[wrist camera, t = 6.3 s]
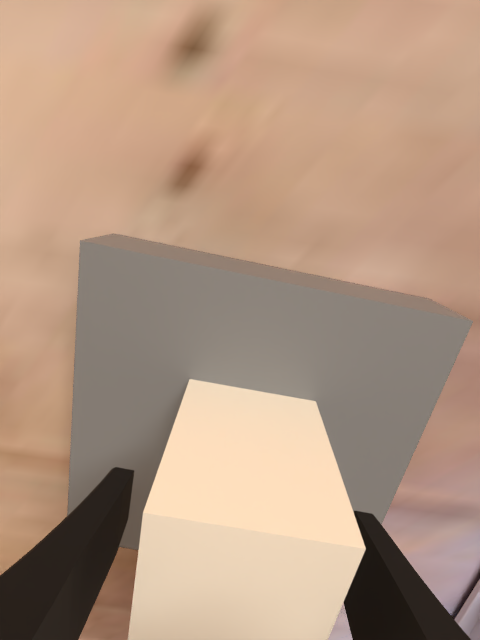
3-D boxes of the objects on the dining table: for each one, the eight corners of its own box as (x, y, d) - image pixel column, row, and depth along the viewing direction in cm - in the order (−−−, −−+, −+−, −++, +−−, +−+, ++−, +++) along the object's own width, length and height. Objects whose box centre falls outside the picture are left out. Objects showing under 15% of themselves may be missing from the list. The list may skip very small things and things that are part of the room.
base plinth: (337, 530, 19) (353, 587, 16) (94, 487, 19) (66, 537, 16) (430, 299, 15) (472, 321, 12) (113, 233, 14) (80, 240, 11)
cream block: (286, 498, 15) (309, 680, 9) (174, 479, 15) (126, 653, 9) (315, 401, 13) (366, 549, 8) (189, 378, 13) (143, 512, 7)
